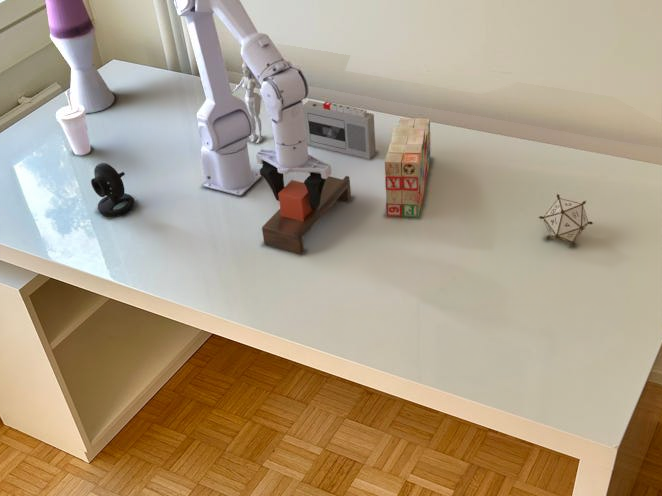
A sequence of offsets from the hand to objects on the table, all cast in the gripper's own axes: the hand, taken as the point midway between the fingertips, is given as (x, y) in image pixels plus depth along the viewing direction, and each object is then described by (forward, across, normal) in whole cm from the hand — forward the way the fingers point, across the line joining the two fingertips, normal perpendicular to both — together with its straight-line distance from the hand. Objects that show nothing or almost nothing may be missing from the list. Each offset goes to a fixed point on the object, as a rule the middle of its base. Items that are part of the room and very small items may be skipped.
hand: (297, 202), depth 163 cm
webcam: (+6, -39, -8) cm, 40 cm away
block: (+2, 0, 0) cm, 2 cm away
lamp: (+6, -74, +26) cm, 79 cm away
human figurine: (+6, -26, +26) cm, 37 cm away
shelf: (+6, 0, +3) cm, 7 cm away
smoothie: (+6, -61, +7) cm, 62 cm away
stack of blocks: (+6, +13, +21) cm, 25 cm away
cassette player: (+6, -7, +29) cm, 30 cm away
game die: (+6, +46, +16) cm, 49 cm away
